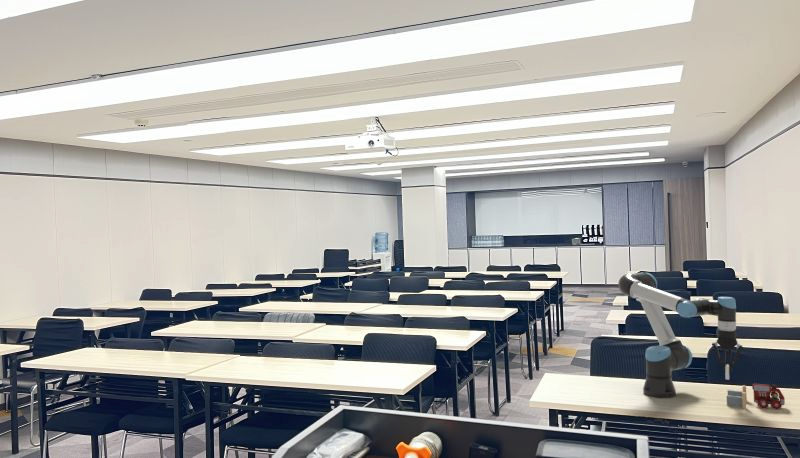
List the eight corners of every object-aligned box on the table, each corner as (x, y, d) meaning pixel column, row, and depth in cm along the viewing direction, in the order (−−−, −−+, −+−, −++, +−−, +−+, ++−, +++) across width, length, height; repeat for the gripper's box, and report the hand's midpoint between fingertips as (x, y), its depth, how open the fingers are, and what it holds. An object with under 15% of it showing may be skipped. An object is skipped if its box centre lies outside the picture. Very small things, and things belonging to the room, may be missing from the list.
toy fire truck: (786, 410, 255) (785, 387, 255) (754, 408, 260) (753, 385, 260) (783, 406, 261) (782, 383, 262) (751, 403, 266) (751, 381, 267)
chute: (726, 406, 263) (726, 391, 263) (728, 398, 276) (727, 384, 276) (746, 408, 259) (745, 393, 259) (746, 400, 272) (746, 385, 272)
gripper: (710, 329, 270) (711, 378, 270) (742, 332, 263) (743, 382, 263) (711, 327, 276) (712, 375, 276) (743, 329, 269) (743, 378, 269)
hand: (727, 378), depth 270 cm, fingers closed
